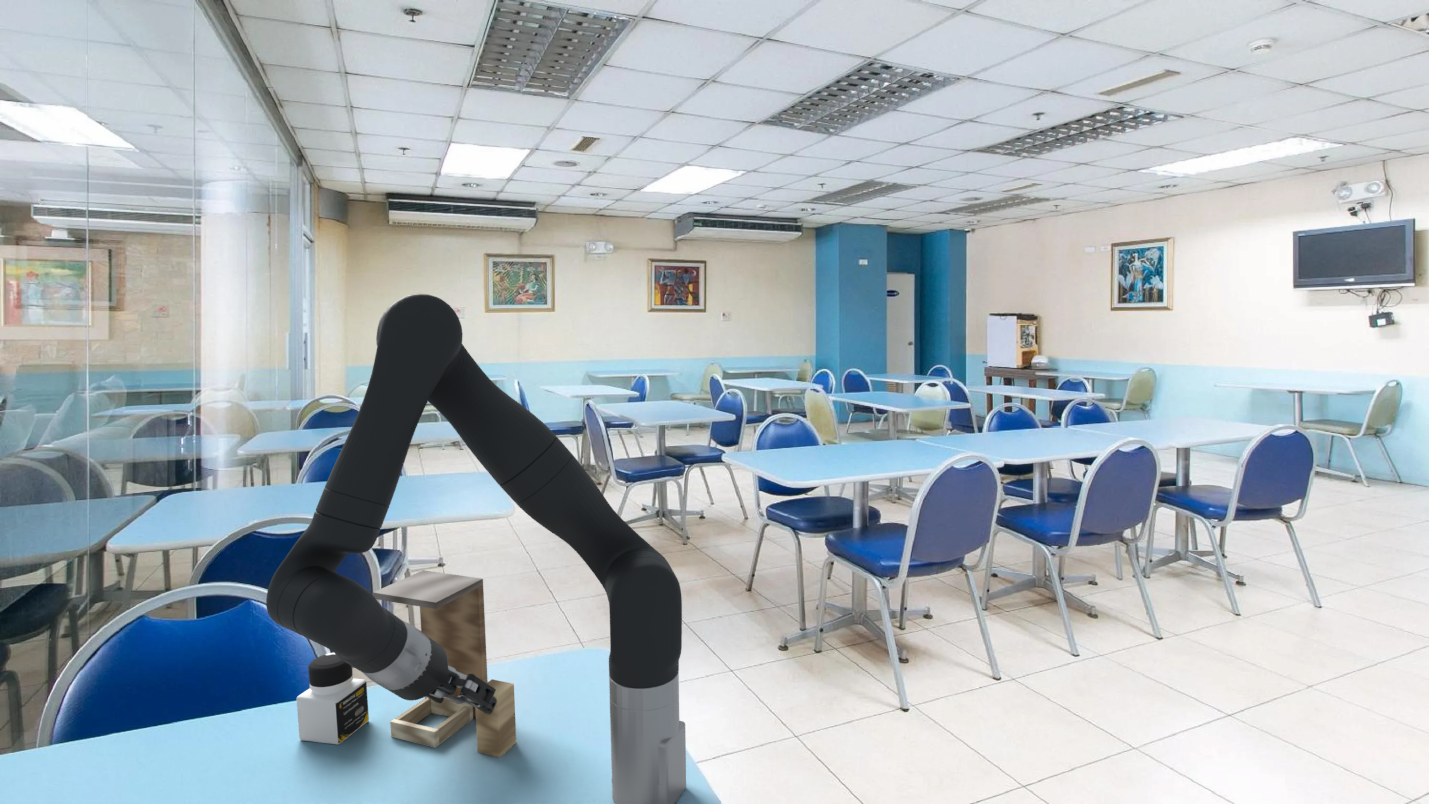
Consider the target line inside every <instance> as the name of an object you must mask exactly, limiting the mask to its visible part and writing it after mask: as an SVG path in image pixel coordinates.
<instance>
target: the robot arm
mask: <svg viewBox="0 0 1429 804" xmlns="http://www.w3.org/2000/svg"><path fill="white" fill-rule="evenodd" d="M381 315H382V316H380V319H379V322H378V325H377V328H376V329H377V330H376V338H375V339H376V346H377V348H376V352H375V357H374V361H373V366H372V371H371V375H370V378H369V382H368V384H367V388H366V390H365V393H364V397H363V400H362V402H361V405H360V408H359V410H358V413H357V415H356V418H355V419H354V422H353V425H352V427H351V429H350V431H349V433H348V434H347V437H346V439H345V441H344V443H343V445H342V447H341V450H340V452H339V454H338V456H337V458H336V460H335V463H334V465H333V467H332V469H331V472H330V474H329V476H328V479H327V481H326V483H325V486H324V488H323V490H322V493H321V496H320V498H319V500H318V504H317V505H316V508H315V511H314V513H313V516H312V519H311V522H310V523H309V525H308V526H307V527H306V529H305V530H304V532H302V534H301V535H300V537H299V538H298V539H297V541H295V543H294V545H293V546H292V548H291V549H290V550H289V552H288V553H287V555H286V556H285V558H284V559H283V560H282V562H281V563H280V564H279V566H278V568H277V569H276V571H275V572H274V573H273V576H272V578H271V579H270V582H269V585H268V588H267V592H266V601H265V604H266V611H267V614H268V616H269V618H270V619H271V621H273V622H274V623H275V624H276V625H278V626H281V627H282V628H284V629H286V630H289V631H291V632H293V633H296V634H298V635H300V636H301V637H304V638H306V639H308V640H311V642H312V641H313V642H314V643H316V644H318V645H320V646H322V647H325V648H326V649H327V650H330V651H332V653H335V654H336V655H337V656H338V657H339V658H340V659H341V660H343V661H344V662H346V663H348V664H349V665H351V666H352V668H354V669H356V670H358V671H360V672H361V673H362V674H364V676H365V677H367V678H368V679H369V680H371V681H372V682H374V683H375V684H377V685H378V686H380V687H382V688H384V689H385V690H386V691H389V692H391V694H393V695H396V696H397V697H398V698H401V699H402V700H405V701H418V700H421V699H423V698H425V696H426V697H428V698H429V699H431V700H433V701H434V702H436V703H442V702H443V700H444V699H447V700H449V701H452V702H454V703H457V704H462V703H464V702H465V703H468V704H470V705H472V706H473V707H476V708H478V709H479V710H481V711H482V712H484V713H486V714H491V713H492V712H493V710H494V708H495V706H496V703H497V700H496V698H495V697H494V693H495V691H496V689H494V688H493V687H491V686H490V685H488V684H487V683H485V682H484V681H482V680H481V679H479V678H478V677H476V676H475V675H474V674H468V675H464V674H462V673H460V672H457V671H456V669H455V668H453V667H451V666H448V660H447V655H446V652H445V650H444V649H443V647H442V646H440V645H439V644H438V643H436V642H435V641H434V640H432V639H431V638H429V637H428V636H427V635H425V634H424V633H423V632H421V629H418V628H417V627H416V626H414V625H413V624H411V623H409V622H406V621H405V620H403V619H401V618H400V617H398V616H397V615H395V614H394V613H392V612H391V611H390V610H388V609H387V608H385V607H384V606H382V605H381V603H380V602H379V601H378V599H375V597H374V596H373V593H371V592H370V591H369V590H368V589H367V588H366V587H364V586H362V585H361V584H359V583H358V582H356V581H355V580H353V579H352V578H349V577H347V576H344V575H342V574H339V573H337V569H338V568H339V566H340V564H341V563H342V562H343V561H344V559H345V558H346V556H348V554H363V553H367V552H368V551H370V550H371V549H372V548H373V547H374V545H375V543H376V542H377V539H378V537H379V535H380V533H381V532H380V531H381V528H382V526H383V524H384V521H385V520H386V519H385V518H386V515H387V513H388V510H389V508H390V506H391V503H392V499H393V497H394V494H395V492H396V489H397V486H398V483H399V480H400V476H401V474H402V470H403V467H404V464H405V461H406V458H407V455H408V452H409V449H410V447H411V443H412V440H413V437H414V435H415V431H416V428H417V427H418V424H419V421H420V420H421V418H422V415H423V412H424V410H425V409H426V406H427V404H428V403H429V404H430V405H431V406H433V408H434V409H436V410H437V411H438V412H439V413H440V415H442V416H443V417H444V418H445V420H447V422H448V423H449V424H450V425H451V426H452V428H453V429H454V430H455V432H456V433H457V435H458V436H459V437H460V439H461V440H462V441H463V442H464V444H465V445H466V447H467V448H468V449H469V450H470V452H471V453H472V454H473V455H474V457H475V458H476V459H477V461H478V462H479V463H480V465H482V466H483V468H484V469H485V470H486V472H488V474H489V475H490V476H491V477H492V478H493V480H494V481H495V482H496V483H497V484H498V486H499V487H500V488H501V489H502V490H503V492H505V493H506V494H507V495H508V497H509V498H511V500H512V501H513V502H514V503H515V504H516V505H517V507H519V508H520V509H521V510H522V511H523V512H524V513H525V514H527V516H529V517H530V518H531V519H533V521H535V522H536V523H538V524H539V525H540V526H542V527H543V528H544V529H546V530H547V531H549V532H550V533H552V534H554V536H556V537H558V538H559V539H561V540H563V542H565V543H566V544H567V545H569V546H570V547H571V549H573V550H574V552H576V553H577V555H579V557H580V558H581V559H582V560H583V562H585V564H586V566H588V568H589V569H590V571H591V572H592V573H593V575H594V576H595V577H596V578H597V580H598V582H599V583H600V584H601V586H602V588H603V589H604V591H605V593H606V596H607V600H608V605H609V608H608V609H609V637H610V638H609V639H610V640H609V641H610V643H609V644H610V651H609V654H608V655H609V656H608V674H609V675H608V676H609V677H608V680H609V681H608V683H609V720H610V722H609V723H610V724H609V725H610V761H611V765H610V766H611V785H612V786H611V789H612V790H611V791H612V792H611V793H612V801H613V803H614V804H677V801H678V800H679V799H680V797H681V796H682V794H683V793H684V792H685V790H686V789H687V751H686V742H687V741H686V722H685V721H682V720H680V680H679V677H680V676H679V675H680V674H679V671H680V668H679V667H680V664H679V663H680V658H681V654H682V645H683V644H682V640H683V639H682V638H683V630H682V629H683V600H682V599H683V598H682V591H681V585H680V581H679V579H678V578H677V575H676V574H675V572H674V570H673V569H672V567H671V565H670V563H669V562H668V561H667V559H666V558H665V557H664V556H663V555H662V554H661V553H660V552H659V551H658V550H657V549H656V548H654V547H653V546H652V545H651V544H649V542H648V541H646V539H644V538H643V537H642V536H640V535H639V534H638V532H636V531H635V530H634V529H633V528H632V527H631V526H630V525H629V524H628V523H627V522H626V521H624V519H622V517H621V516H620V515H619V514H618V513H617V512H616V511H615V510H614V509H613V507H612V506H611V505H610V503H609V502H608V500H607V498H606V497H605V496H604V494H603V493H602V491H601V490H600V489H599V487H598V485H597V484H596V483H595V482H594V480H593V479H592V478H591V476H590V475H589V473H588V472H587V471H586V470H585V468H584V467H583V465H581V463H580V462H579V461H578V459H577V457H576V456H574V455H573V453H572V452H571V451H570V450H569V449H568V447H566V445H565V444H564V443H563V442H562V441H561V439H559V437H558V436H557V435H556V434H555V433H554V432H553V431H552V430H551V429H550V428H549V426H547V425H546V424H545V423H544V422H543V421H542V420H540V418H538V417H537V416H536V415H534V414H533V412H531V411H530V410H528V409H527V408H526V407H525V406H524V405H522V404H520V403H519V402H518V401H517V400H515V399H514V398H513V397H512V396H510V395H509V394H508V393H506V392H505V391H503V390H502V389H501V388H500V387H499V386H497V384H495V382H493V381H492V380H491V379H490V378H489V376H488V375H487V374H486V373H485V372H484V371H483V369H481V367H480V365H479V364H478V363H477V362H476V361H475V359H474V358H473V357H472V355H471V354H470V353H469V352H468V350H467V348H466V347H465V346H464V345H463V335H464V334H463V328H462V323H461V320H460V318H459V316H458V314H457V313H456V311H455V310H454V308H453V307H452V306H451V305H450V304H449V303H447V301H445V300H444V299H442V298H440V297H438V296H434V295H432V294H431V295H430V294H427V293H415V294H409V295H405V296H403V297H401V298H399V299H397V300H396V301H394V302H393V303H392V304H391V305H389V306H388V307H387V308H386V310H385V311H384V312H383V314H381ZM457 687H458V688H461V691H460V694H459V696H458V697H455V696H453V695H452V694H454V693H455V691H456V689H457Z"/></svg>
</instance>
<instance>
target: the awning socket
mask: <svg viewBox="0 0 1429 804" xmlns="http://www.w3.org/2000/svg"><path fill="white" fill-rule="evenodd" d="M372 595H373V596H374V597H375V599H376V600H377V601H378V600H379V601H384V602H390V603H398V604H402V605H403V604H404V605H409V606H415V607H419V615H420V617H419V618H420V631H421V632H423V633H424V634H425V635H427V636H428V637H429V638H431V639H432V640H434V641H435V642H436V643H438V644H439V645H440V646H442V647H443V649H444V650H445V652H446V655H447V660H448V666H451V667H453V668H455V669H456V671H457V672H460V673H462V674H464V675H468V674H474V675H475V676H476V677H478V678H479V679H481V680H482V681H484V682H485V683H487V682H489V681H488V663H487V662H488V661H487V659H488V658H487V640H486V639H487V638H486V622H485V621H486V618H485V617H486V616H485V615H486V614H485V597H484V596H485V593H484V579H483V578H481V577H474V576H465V575H459V574H452V573H446V572H437V571H431V570H421V571H418V572H416V573H414V574H412V575H408V576H407V577H405V578H403V579H400V580H398V581H396V582H393V583H391V584H389V585H387V586H384V587H383V588H379V589H376V590H375V591H373V592H372ZM460 691H461V688H458V687H457V689H456V691H455V693H454V694H452V695H453V696H455V697H458V696H459V694H460ZM430 714H436V715H441V716H445V717H448V718H446V719H445V720H444V721H442V722H441V723H439V724H438V725H437V726H435V727H431V726H426V725H421V724H417V723H418V722H420V721H422V720H423V719H425V718H426V717H427V716H429V715H430ZM474 718H476V709H475V707H473V706H472V705H470V704H468V703H465V702H464V703H462V704H457V703H454V702H452V701H449V700H447V699H444V700H443V702H442V703H436V702H434V701H433V700H431V699H429V698H428V697H426V696H425V697H424V699H423V698H422V700H420V701H419V702H417V703H416V704H414V705H413V706H411V707H410V708H408V709H407V710H405V711H404V712H402V713H401V714H400V715H397V716H396V717H394V719H392V720H390V722H389V723H390V735H391V736H390V737H391V738H394V739H399V740H402V741H407V742H411V743H414V744H419V745H423V746H427V747H431V748H434V749H436V748H437V747H438V746H440V745H441V744H442V743H444V742H445V741H447V740H448V739H449V738H451V737H452V736H453V735H454V734H456V733H457V732H458V731H460V730H461V729H462V728H463V727H465V726H466V725H467V724H469V723H470V722H472V720H474Z"/></svg>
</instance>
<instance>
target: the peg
mask: <svg viewBox="0 0 1429 804" xmlns="http://www.w3.org/2000/svg"><path fill="white" fill-rule="evenodd" d="M487 684H488V685H490V686H491V687H493V688H494V689H496V691H495V693H494V697H495V698H496V700H497V703H496V706H495V708H494V710H493V712H492V713H491V714H486V713H484V712H482V711H481V710H479V709H478V708H476V707H475V709H476V717H475V724H476V725H475V726H476V746H477V749H476V750H477V753H479V754H484V755H486V756H487V755H488V756H490V757H491V756H492V757H495V758H501V757H502V756H504V755H505V753H507V752H508V751H509V750H510V749H512V748H513V747H514V746H515V745H516V744H517V729H516V728H517V727H516V726H517V725H516V704H515V703H516V702H515V701H516V699H515V684H514V683H513V682H507V681H501V680H497V679H490V680H489V681H488V682H487ZM514 744H515V745H514ZM513 745H514V746H513ZM512 746H513V747H512Z"/></svg>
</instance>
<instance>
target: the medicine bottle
mask: <svg viewBox="0 0 1429 804" xmlns="http://www.w3.org/2000/svg"><path fill="white" fill-rule="evenodd" d="M307 668H308V681H309V682H308V683H309V688H308V689H306V690H304V691H303V692H302V693H300V694H299V695H298V696H297V697H296V710H297V711H296V712H297V723H298V734H299V735H298V738H299V740H300V741H306V742H314V743H321V744H331V745H341V744H342V743H343V742H344V741H346V740H347V739H348V738H349V737H351V736H352V735H354V733H356V732H357V731H358V730H359V729H360V728H361V727H364V725H365V724H366V723H368V722H369V721H370V717H369V701H368V686H367V680H366V679H362V678H354V672H353V666H351V665H349V664H348V663H346V662H344V661H343V660H341V659H340V658H339V657H338V656H337V655H336V654H335V653H334V652H330V653H329V652H328V653H325V654H322V655H320V656H318V657H316V658H314V659H313V660H312V661H310V663H309V664H308V667H307Z"/></svg>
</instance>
